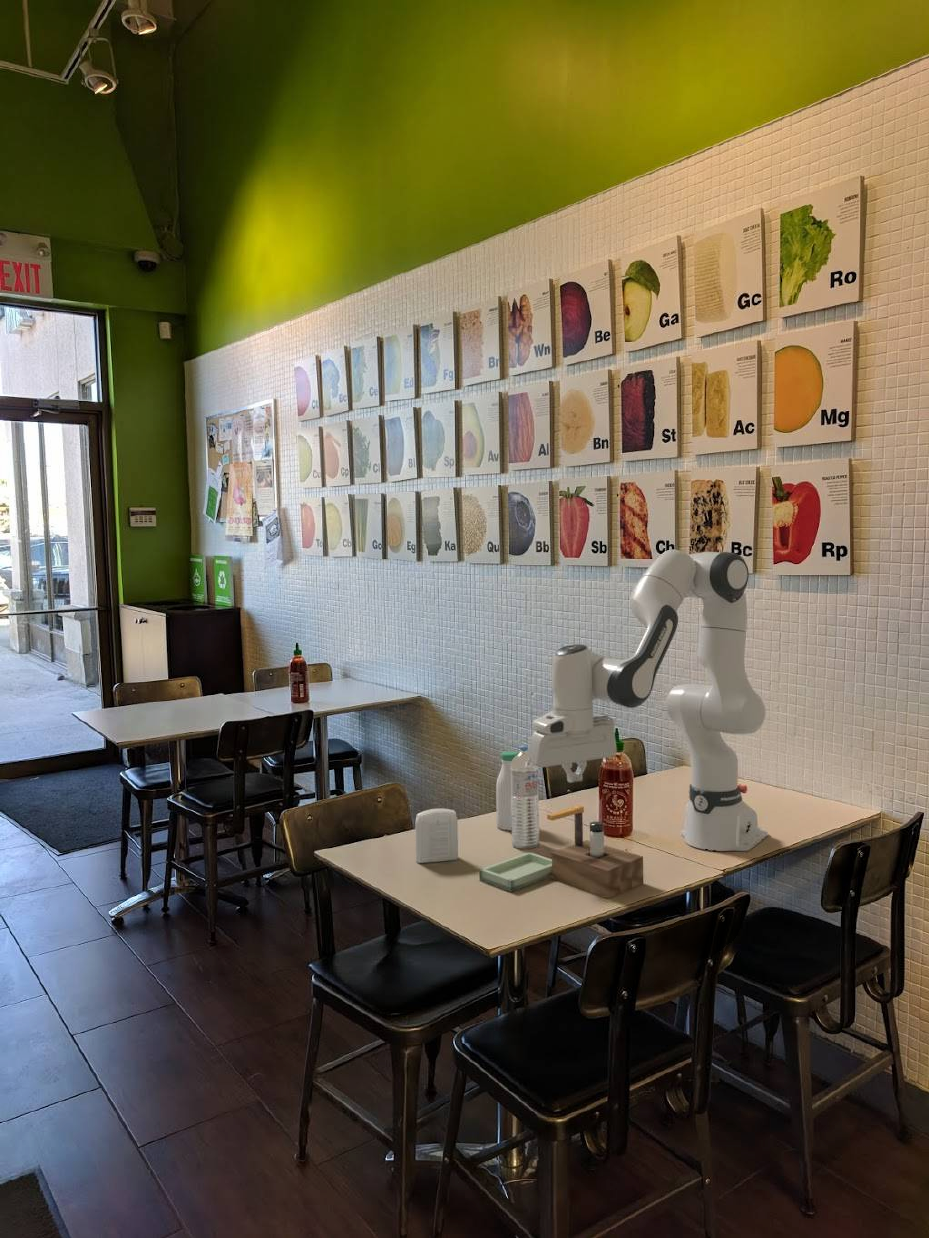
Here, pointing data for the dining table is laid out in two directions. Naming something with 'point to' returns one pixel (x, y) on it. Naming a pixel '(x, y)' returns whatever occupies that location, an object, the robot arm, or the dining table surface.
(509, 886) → the tray
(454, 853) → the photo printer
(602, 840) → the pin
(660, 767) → the dining table surface
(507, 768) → the milk bottle
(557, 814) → the bar
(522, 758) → the water bottle
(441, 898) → the dining table surface
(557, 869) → the block
